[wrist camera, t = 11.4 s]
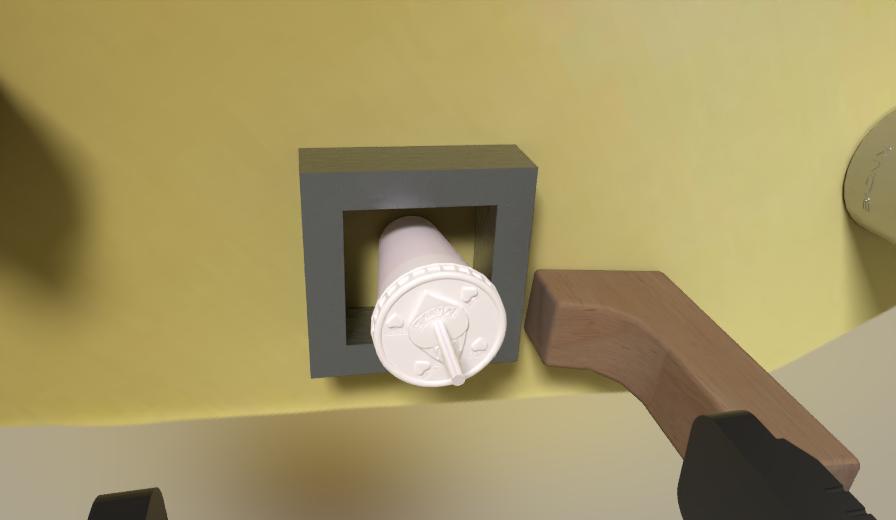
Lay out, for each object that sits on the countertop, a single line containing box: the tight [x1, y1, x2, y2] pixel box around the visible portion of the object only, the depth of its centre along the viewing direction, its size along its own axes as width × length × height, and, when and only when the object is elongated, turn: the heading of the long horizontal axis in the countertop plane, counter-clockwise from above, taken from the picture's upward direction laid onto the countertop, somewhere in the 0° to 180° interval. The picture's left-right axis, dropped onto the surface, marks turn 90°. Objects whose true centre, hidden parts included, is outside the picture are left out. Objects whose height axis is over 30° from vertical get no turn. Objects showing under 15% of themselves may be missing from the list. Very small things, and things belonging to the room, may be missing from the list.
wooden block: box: [524, 270, 860, 492], centre depth 36 cm, size 9×4×18 cm, turn 83°
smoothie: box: [371, 216, 506, 387], centre depth 34 cm, size 6×6×14 cm
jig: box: [299, 145, 538, 378], centre depth 38 cm, size 12×12×4 cm
